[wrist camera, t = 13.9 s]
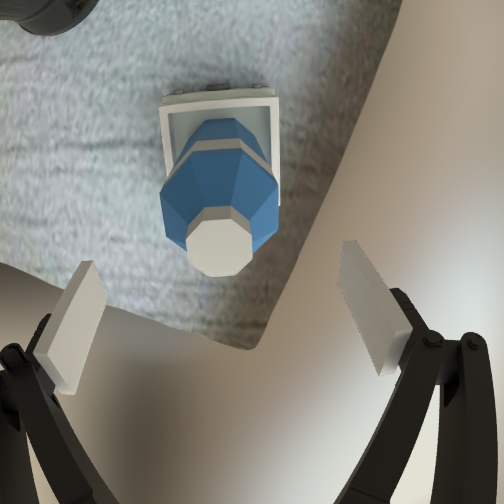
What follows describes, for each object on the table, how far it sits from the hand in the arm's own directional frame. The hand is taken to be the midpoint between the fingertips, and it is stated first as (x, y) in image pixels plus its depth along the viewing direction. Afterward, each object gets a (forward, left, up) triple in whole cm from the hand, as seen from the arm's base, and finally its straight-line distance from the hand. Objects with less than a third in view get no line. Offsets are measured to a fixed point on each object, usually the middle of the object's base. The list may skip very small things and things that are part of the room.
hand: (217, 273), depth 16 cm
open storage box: (0, 0, -33) cm, 33 cm away
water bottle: (0, 0, -28) cm, 28 cm away
